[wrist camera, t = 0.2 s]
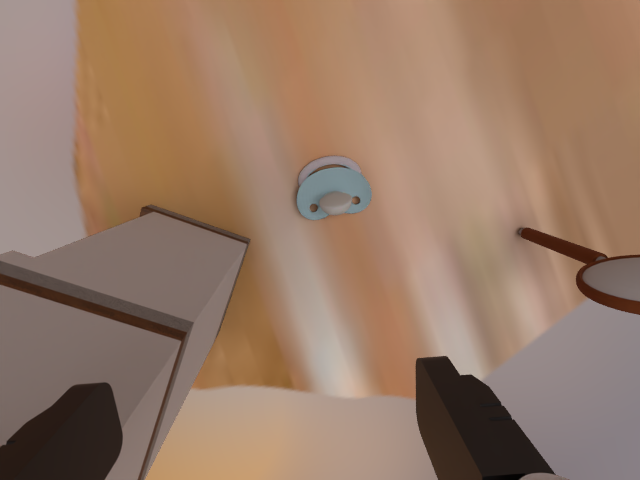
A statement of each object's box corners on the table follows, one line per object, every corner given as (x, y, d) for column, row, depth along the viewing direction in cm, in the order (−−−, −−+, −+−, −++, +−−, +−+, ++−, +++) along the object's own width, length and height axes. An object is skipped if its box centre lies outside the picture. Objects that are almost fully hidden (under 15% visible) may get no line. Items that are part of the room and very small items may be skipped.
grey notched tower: (150, 204, 37) (-1593, 784, 3) (250, 239, 38) (-227, 941, 4) (124, 302, 40) (-1015, 1227, 6) (219, 332, 41) (-246, 1253, 7)
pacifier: (290, 163, 37) (301, 220, 38) (286, 163, 31) (299, 231, 32) (361, 149, 37) (370, 208, 38) (371, 147, 31) (381, 216, 32)
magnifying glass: (481, 246, 39) (651, 339, 20) (480, 231, 39) (652, 311, 19) (561, 231, 39) (811, 309, 20) (560, 215, 39) (815, 280, 19)
